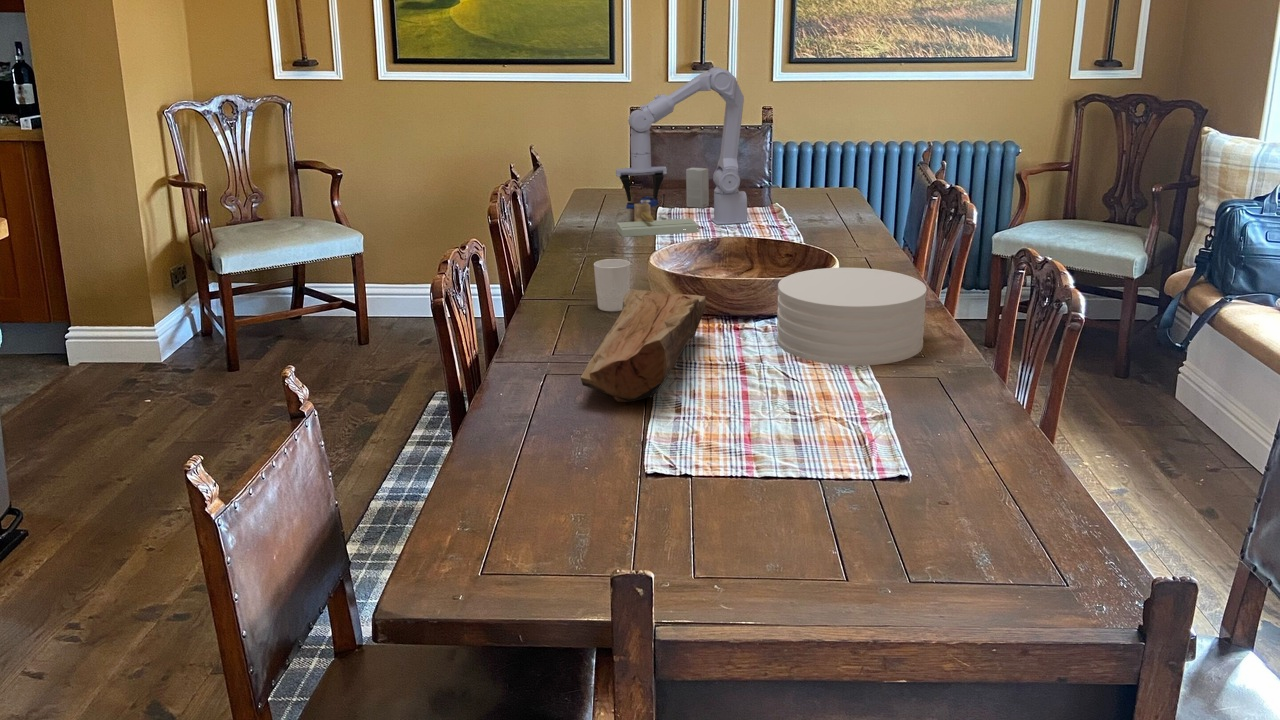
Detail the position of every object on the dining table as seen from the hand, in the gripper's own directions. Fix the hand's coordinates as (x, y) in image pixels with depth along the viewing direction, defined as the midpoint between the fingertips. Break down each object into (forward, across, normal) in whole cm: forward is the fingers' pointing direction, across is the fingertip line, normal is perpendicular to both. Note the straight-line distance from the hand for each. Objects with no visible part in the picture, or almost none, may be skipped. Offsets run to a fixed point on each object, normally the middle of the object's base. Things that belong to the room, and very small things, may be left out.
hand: (642, 200), depth 313 cm
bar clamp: (+8, -3, -20) cm, 22 cm away
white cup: (+8, +21, +81) cm, 84 cm away
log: (+8, +21, +122) cm, 124 cm away
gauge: (+8, 0, +4) cm, 9 cm away
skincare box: (+8, -22, -24) cm, 33 cm away
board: (+8, -3, +7) cm, 11 cm away
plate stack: (+8, -20, +116) cm, 118 cm away
